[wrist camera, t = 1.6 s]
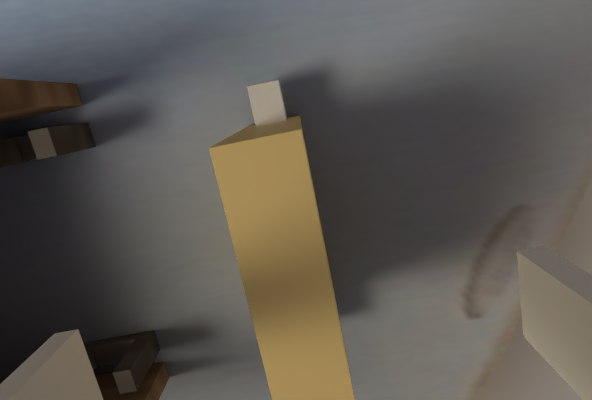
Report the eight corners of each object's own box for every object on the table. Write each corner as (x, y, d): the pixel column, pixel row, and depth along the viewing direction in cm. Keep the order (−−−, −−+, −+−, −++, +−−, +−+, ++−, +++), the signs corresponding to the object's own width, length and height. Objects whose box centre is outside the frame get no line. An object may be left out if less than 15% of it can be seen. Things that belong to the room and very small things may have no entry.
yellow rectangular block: (240, 90, 23) (192, 84, 13) (292, 79, 23) (288, 63, 13) (293, 324, 27) (290, 474, 16) (339, 316, 27) (366, 461, 16)
